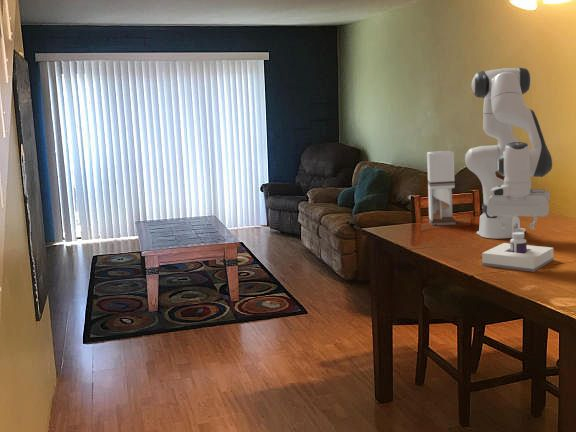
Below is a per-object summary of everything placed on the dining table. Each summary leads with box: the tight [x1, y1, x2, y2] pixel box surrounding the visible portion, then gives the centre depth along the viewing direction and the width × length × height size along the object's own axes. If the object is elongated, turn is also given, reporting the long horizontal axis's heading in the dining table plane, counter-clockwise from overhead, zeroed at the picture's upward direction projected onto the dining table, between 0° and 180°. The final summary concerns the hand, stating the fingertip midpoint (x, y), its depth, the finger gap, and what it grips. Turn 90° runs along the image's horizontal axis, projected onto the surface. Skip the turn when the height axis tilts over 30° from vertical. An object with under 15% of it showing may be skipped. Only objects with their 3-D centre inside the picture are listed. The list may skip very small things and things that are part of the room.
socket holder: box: [481, 242, 554, 273], centre depth 206 cm, size 18×18×4 cm
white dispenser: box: [426, 150, 457, 226], centre depth 285 cm, size 11×11×35 cm
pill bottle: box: [509, 232, 528, 254], centre depth 205 cm, size 5×5×10 cm
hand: (517, 228), depth 205 cm, fingers open, 8 cm apart
